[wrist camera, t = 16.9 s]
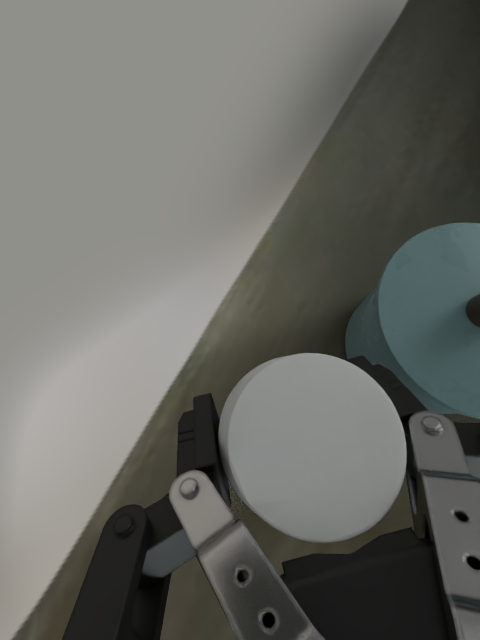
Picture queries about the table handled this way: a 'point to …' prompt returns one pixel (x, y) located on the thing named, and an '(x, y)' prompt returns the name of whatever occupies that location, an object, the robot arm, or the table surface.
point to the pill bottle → (313, 447)
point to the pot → (427, 319)
